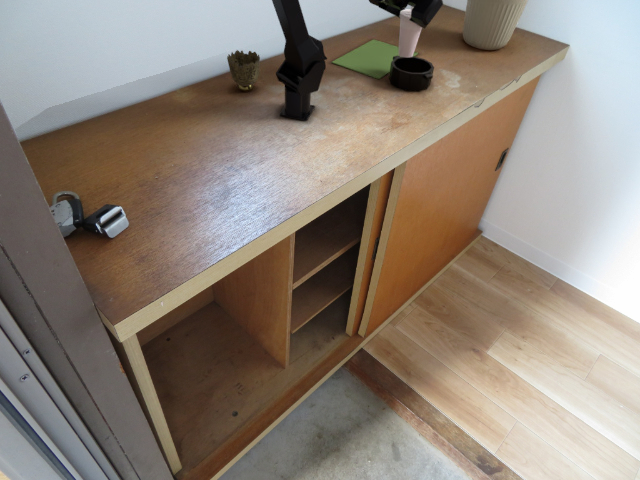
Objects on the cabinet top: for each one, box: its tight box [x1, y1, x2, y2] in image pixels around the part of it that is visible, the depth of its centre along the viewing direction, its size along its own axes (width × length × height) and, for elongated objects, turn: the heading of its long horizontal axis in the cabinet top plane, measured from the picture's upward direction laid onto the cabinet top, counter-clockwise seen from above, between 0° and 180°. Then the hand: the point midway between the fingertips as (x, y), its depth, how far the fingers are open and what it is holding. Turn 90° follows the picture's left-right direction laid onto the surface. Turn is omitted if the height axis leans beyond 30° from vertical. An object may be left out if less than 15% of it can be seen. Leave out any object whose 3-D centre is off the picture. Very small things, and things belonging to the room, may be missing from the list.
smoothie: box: [398, 6, 423, 58], centre depth 106 cm, size 6×6×14 cm
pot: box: [388, 55, 435, 92], centre depth 111 cm, size 10×13×4 cm
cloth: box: [331, 39, 419, 80], centre depth 123 cm, size 22×15×1 cm
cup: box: [226, 49, 261, 93], centre depth 103 cm, size 8×7×8 cm
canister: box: [462, 0, 529, 51], centre depth 127 cm, size 18×18×21 cm
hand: (415, 22), depth 106 cm, fingers closed on smoothie, 6 cm apart
